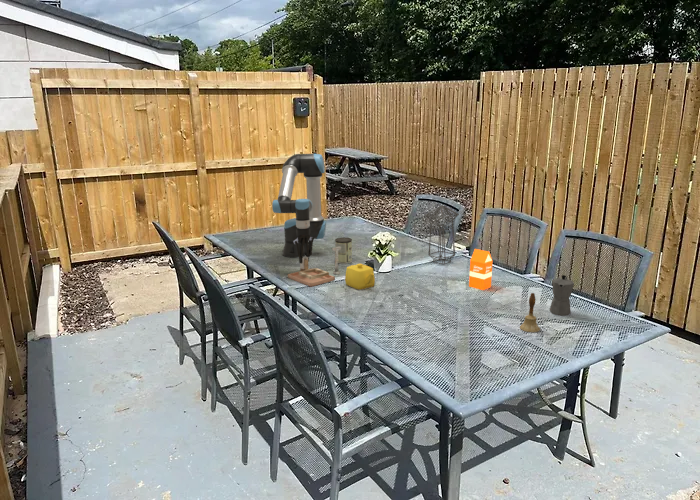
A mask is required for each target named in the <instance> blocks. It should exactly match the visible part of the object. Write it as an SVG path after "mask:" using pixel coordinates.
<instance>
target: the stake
mask: <svg viewBox="0 0 700 500" xmlns="http://www.w3.org/2000/svg"><path fill="white" fill-rule="evenodd" d="M340 249H341V247H340V246H339V247H332V248H331V251H333V252H334V271H332V272H333V273H332V274H333V275H340V274H341V271H340V270H339V263H338V250H340Z"/></svg>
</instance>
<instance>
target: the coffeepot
mask: <svg viewBox="0 0 700 500" xmlns="http://www.w3.org/2000/svg"><path fill="white" fill-rule="evenodd" d="M551 281H552V282H551V284H552V294H553V297H552V300H551V303H550V308H549V312H550V313H551V314H553V315H555V316H561V317H566V316H570V315H571V314H572V313H571V312H572V311H571V301H570V297H571V296H572V293H573V292H572V291H573V289H574V286H575V282H573V280H571V279H568V276H566V275H565V274H562V275H561V278H554V279H552V280H551Z"/></svg>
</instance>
